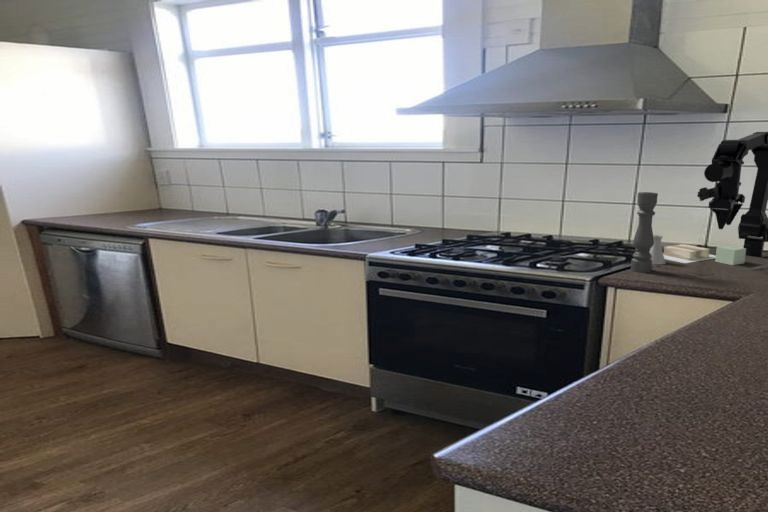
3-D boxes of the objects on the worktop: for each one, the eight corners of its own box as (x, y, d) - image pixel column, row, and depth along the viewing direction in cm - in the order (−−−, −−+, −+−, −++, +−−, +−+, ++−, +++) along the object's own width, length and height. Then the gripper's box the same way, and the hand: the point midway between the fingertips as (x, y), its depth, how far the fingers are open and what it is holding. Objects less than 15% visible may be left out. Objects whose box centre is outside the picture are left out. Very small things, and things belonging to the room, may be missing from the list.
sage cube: (726, 262, 187) (728, 245, 186) (743, 266, 182) (746, 248, 181) (714, 264, 185) (716, 247, 183) (732, 268, 179) (734, 250, 178)
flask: (670, 267, 182) (673, 237, 179) (648, 267, 182) (651, 237, 180) (660, 262, 189) (663, 233, 186) (638, 262, 189) (641, 234, 187)
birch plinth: (682, 252, 199) (683, 244, 199) (708, 257, 191) (709, 248, 190) (663, 255, 195) (664, 246, 195) (689, 260, 186) (690, 251, 186)
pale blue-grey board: (686, 252, 203) (686, 249, 203) (723, 259, 191) (723, 256, 191) (648, 258, 195) (648, 255, 195) (684, 266, 183) (684, 263, 183)
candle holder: (655, 270, 177) (663, 193, 172) (643, 273, 174) (650, 194, 169) (638, 267, 182) (645, 191, 177) (626, 269, 179) (632, 192, 174)
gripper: (709, 176, 189) (705, 220, 193) (693, 181, 176) (688, 229, 180) (747, 177, 181) (742, 223, 185) (732, 182, 169) (727, 232, 172)
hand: (724, 227), depth 181 cm, fingers open, 9 cm apart
